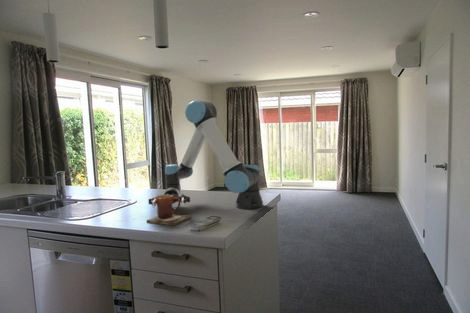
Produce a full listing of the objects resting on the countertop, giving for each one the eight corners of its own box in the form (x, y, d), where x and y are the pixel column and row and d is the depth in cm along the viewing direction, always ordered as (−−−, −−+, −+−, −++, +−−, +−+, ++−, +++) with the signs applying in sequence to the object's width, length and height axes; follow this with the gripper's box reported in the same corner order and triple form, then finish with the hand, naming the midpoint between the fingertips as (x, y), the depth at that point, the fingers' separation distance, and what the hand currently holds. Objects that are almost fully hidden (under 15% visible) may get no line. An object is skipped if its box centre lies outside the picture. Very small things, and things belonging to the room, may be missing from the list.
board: (191, 218, 163) (191, 215, 163) (174, 225, 151) (174, 222, 151) (165, 215, 170) (164, 212, 170) (146, 222, 158) (146, 219, 158)
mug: (154, 220, 156) (153, 198, 155) (158, 215, 165) (157, 195, 164) (179, 219, 156) (178, 197, 155) (182, 214, 165) (181, 194, 164)
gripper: (195, 201, 180) (194, 210, 159) (148, 203, 177) (141, 213, 156) (194, 187, 179) (194, 194, 158) (147, 189, 177) (140, 197, 155)
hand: (168, 203), depth 157 cm, fingers open, 13 cm apart
